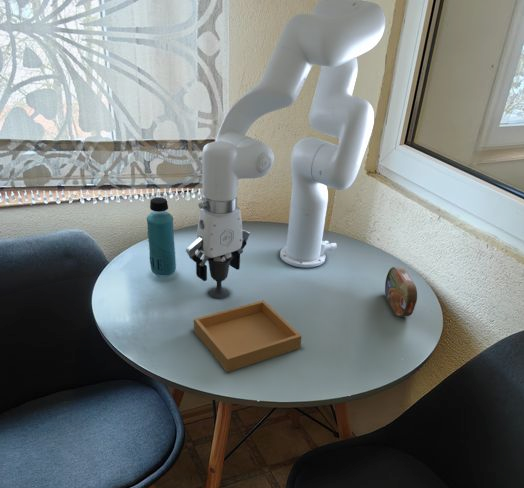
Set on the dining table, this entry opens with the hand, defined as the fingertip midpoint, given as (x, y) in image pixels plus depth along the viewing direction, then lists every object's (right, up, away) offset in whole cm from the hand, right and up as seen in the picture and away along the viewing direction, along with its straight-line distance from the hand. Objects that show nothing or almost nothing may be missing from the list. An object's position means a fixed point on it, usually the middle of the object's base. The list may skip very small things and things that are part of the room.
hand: (218, 272), depth 122 cm
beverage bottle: (-15, +1, +9) cm, 17 cm away
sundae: (0, -5, +4) cm, 6 cm away
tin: (+43, -8, +4) cm, 44 cm away
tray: (+7, -16, -11) cm, 21 cm away
